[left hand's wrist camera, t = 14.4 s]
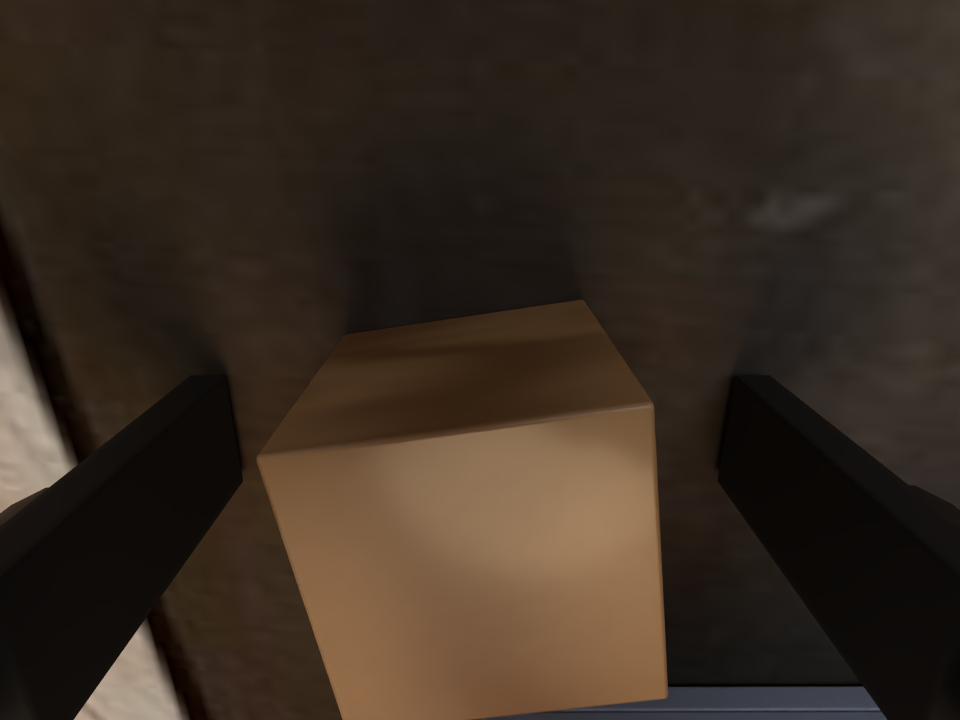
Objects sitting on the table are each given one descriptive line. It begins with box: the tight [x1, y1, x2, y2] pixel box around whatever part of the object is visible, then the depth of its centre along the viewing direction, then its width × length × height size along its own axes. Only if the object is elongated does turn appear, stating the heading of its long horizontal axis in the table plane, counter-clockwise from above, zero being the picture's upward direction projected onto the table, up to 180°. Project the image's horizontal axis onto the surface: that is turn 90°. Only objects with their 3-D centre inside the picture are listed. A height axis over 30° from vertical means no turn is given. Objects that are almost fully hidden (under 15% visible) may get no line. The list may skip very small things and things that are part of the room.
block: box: [257, 300, 668, 720], centre depth 11 cm, size 5×5×5 cm
